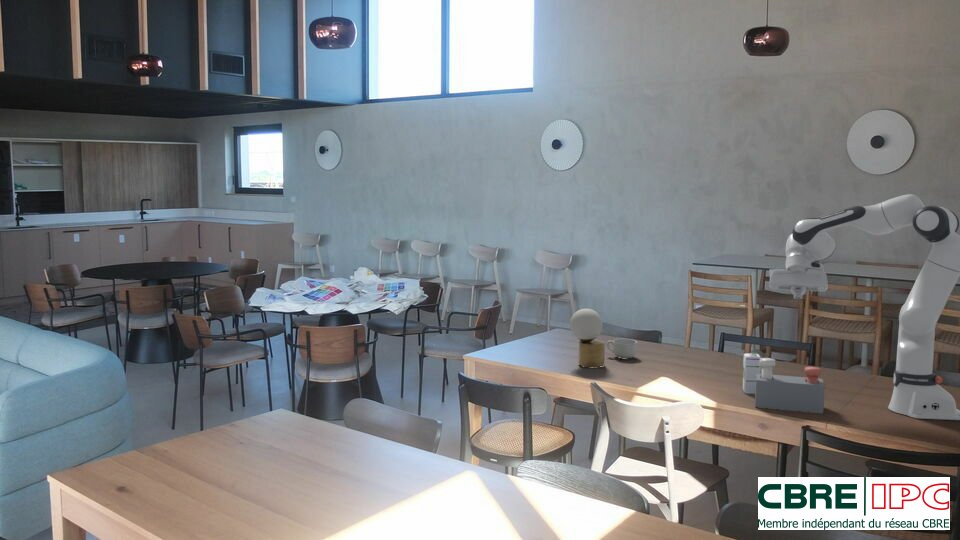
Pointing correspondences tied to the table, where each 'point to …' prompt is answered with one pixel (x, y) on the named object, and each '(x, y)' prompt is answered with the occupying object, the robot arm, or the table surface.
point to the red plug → (812, 374)
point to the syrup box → (750, 372)
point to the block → (789, 394)
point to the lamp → (588, 337)
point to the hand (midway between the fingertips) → (798, 298)
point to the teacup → (623, 347)
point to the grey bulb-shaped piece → (767, 367)
